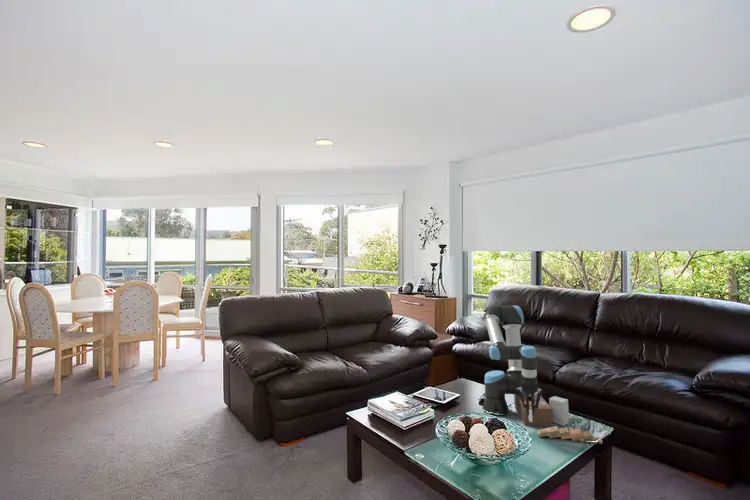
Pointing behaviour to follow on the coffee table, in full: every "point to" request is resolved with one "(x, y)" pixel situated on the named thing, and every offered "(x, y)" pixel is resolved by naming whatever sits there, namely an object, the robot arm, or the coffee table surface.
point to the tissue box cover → (540, 414)
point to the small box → (559, 410)
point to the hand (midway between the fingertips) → (530, 420)
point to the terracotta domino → (573, 434)
